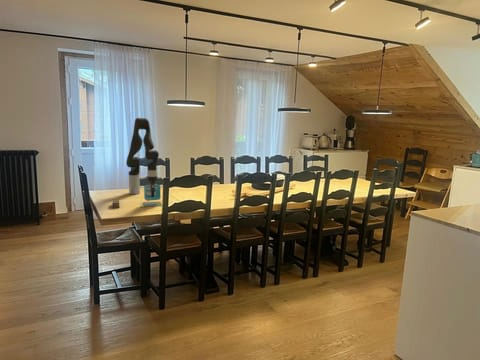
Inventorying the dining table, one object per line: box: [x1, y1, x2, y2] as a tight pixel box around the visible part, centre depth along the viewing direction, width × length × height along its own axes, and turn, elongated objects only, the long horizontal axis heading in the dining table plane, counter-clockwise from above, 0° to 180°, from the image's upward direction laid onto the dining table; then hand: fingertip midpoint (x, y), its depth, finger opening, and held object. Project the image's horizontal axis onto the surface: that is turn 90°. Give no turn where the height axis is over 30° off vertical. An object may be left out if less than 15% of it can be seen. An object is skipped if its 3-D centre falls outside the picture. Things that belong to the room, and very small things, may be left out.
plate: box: [140, 200, 163, 208], centre depth 296 cm, size 14×16×1 cm
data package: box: [143, 183, 161, 202], centre depth 295 cm, size 12×4×12 cm, turn 123°
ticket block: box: [112, 198, 120, 209], centre depth 287 cm, size 12×5×4 cm, turn 19°
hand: (152, 196), depth 295 cm, fingers closed on data package, 5 cm apart
